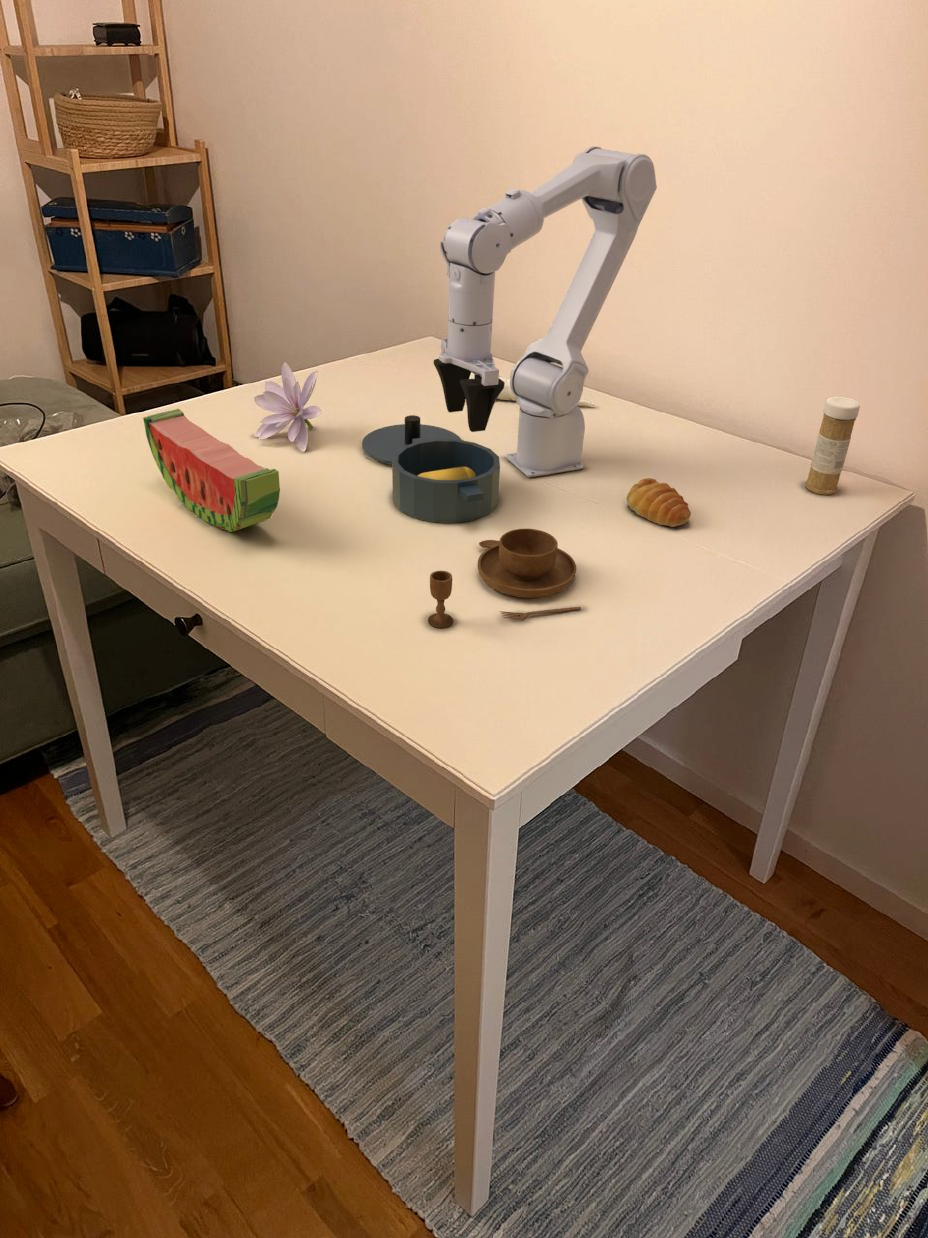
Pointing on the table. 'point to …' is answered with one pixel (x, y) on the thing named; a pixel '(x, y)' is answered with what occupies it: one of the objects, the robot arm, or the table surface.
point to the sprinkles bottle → (832, 444)
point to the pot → (445, 496)
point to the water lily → (287, 407)
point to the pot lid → (400, 438)
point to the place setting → (513, 571)
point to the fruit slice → (211, 473)
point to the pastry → (658, 503)
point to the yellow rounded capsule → (450, 474)
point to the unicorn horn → (509, 395)
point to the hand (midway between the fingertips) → (466, 420)
